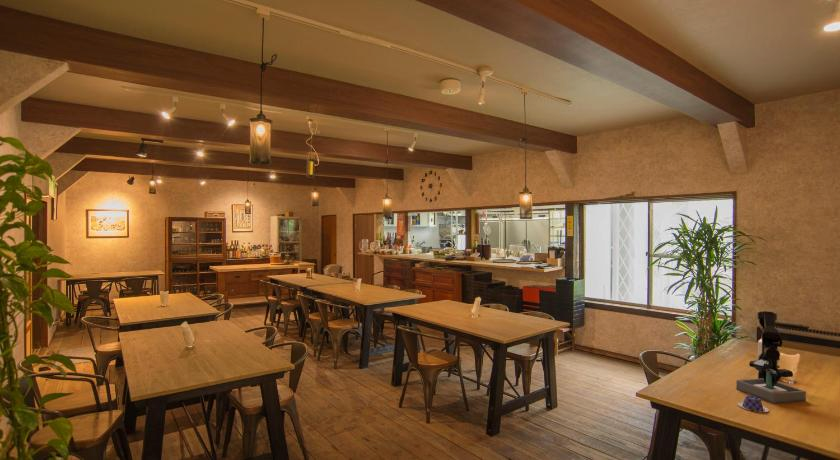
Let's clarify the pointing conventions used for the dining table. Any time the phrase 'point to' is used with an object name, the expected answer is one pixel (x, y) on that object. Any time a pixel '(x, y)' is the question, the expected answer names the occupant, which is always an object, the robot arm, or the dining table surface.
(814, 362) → the dining table surface
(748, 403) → the checkered hat
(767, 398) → the box
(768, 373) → the peg
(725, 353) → the dining table surface
